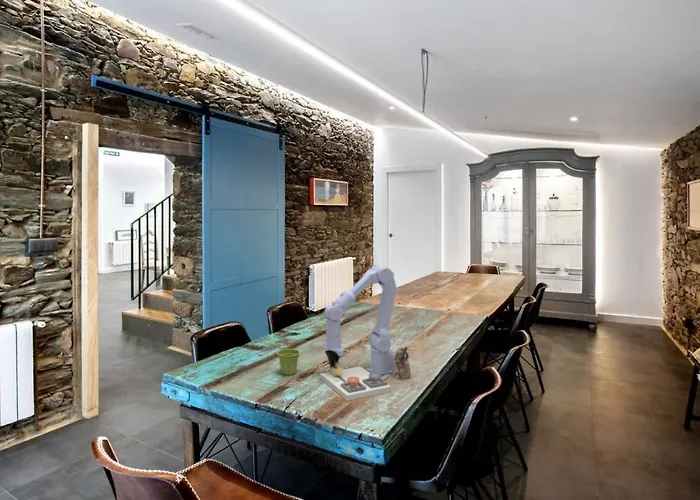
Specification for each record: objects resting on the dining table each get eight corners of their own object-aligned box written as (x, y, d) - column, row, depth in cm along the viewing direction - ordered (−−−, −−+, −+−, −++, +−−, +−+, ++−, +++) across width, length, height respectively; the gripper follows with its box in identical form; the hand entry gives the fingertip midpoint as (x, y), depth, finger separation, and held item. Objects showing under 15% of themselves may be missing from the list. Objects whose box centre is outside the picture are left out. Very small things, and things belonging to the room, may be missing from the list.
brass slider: (338, 372, 172) (338, 360, 172) (342, 375, 169) (342, 362, 169) (331, 373, 171) (331, 361, 170) (335, 376, 168) (335, 363, 168)
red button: (355, 380, 161) (355, 375, 160) (361, 384, 157) (361, 379, 156) (345, 382, 159) (345, 377, 158) (350, 386, 155) (350, 381, 155)
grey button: (376, 376, 165) (376, 371, 164) (382, 380, 161) (382, 375, 161) (366, 378, 163) (366, 373, 162) (372, 382, 159) (372, 377, 159)
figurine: (389, 374, 177) (389, 345, 176) (405, 372, 179) (405, 344, 178) (397, 380, 170) (397, 350, 169) (413, 378, 172) (414, 348, 171)
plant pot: (301, 368, 184) (300, 348, 183) (299, 376, 175) (299, 355, 174) (279, 368, 184) (278, 348, 183) (275, 377, 174) (275, 355, 174)
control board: (360, 371, 181) (360, 364, 180) (390, 391, 159) (390, 383, 159) (320, 378, 173) (320, 371, 172) (347, 401, 151) (347, 392, 151)
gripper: (317, 332, 177) (317, 364, 178) (331, 341, 164) (331, 376, 165) (332, 330, 180) (333, 362, 181) (348, 338, 167) (348, 373, 168)
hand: (333, 368), depth 173 cm, fingers closed
